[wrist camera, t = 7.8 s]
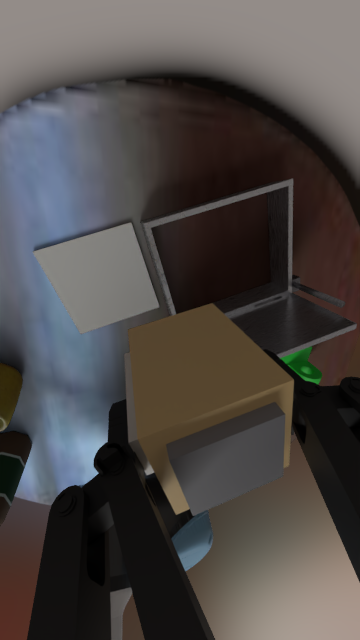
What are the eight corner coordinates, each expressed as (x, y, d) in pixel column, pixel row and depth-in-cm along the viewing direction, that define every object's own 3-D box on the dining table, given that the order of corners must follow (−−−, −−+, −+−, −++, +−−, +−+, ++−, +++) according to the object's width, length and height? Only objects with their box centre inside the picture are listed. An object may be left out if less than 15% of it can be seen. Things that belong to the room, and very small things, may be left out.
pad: (81, 332, 37) (80, 334, 36) (34, 251, 30) (32, 251, 30) (159, 305, 38) (159, 307, 38) (130, 222, 31) (131, 222, 31)
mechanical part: (306, 342, 53) (334, 362, 46) (299, 362, 55) (325, 384, 48) (262, 348, 50) (285, 370, 43) (257, 368, 52) (278, 393, 45)
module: (152, 392, 17) (179, 531, 10) (127, 329, 14) (139, 456, 7) (222, 367, 18) (297, 478, 10) (212, 302, 15) (306, 391, 8)
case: (172, 325, 41) (203, 389, 26) (140, 221, 32) (159, 231, 17) (281, 286, 43) (365, 325, 28) (279, 179, 34) (402, 156, 19)
